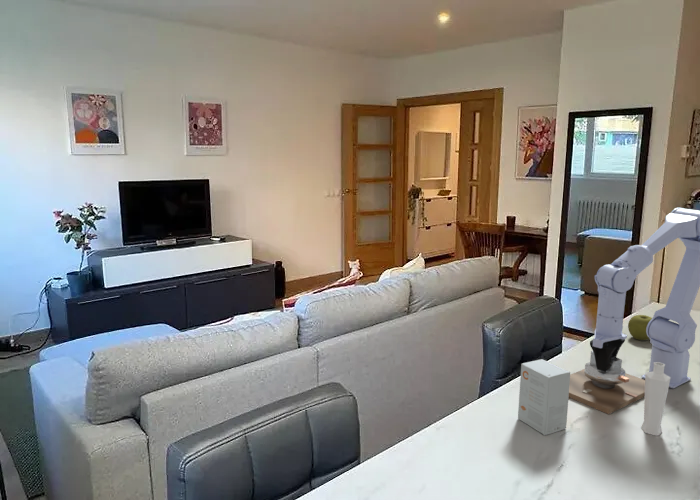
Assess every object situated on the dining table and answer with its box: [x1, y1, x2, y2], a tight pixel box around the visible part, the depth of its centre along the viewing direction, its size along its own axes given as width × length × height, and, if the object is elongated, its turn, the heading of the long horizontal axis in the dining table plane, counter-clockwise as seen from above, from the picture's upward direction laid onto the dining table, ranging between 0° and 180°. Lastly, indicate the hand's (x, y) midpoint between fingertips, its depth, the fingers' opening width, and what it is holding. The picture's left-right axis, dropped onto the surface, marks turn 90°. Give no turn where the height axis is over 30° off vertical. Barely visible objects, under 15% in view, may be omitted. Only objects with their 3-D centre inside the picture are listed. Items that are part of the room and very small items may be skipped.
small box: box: [517, 358, 571, 436], centre depth 114 cm, size 8×6×13 cm
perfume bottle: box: [640, 362, 671, 436], centre depth 111 cm, size 5×4×15 cm
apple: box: [627, 314, 653, 341], centre depth 165 cm, size 8×8×7 cm
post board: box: [568, 368, 645, 415], centre depth 131 cm, size 22×16×3 cm
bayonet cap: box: [584, 350, 629, 384], centre depth 130 cm, size 11×9×6 cm
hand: (604, 367), depth 130 cm, fingers closed on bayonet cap, 4 cm apart
